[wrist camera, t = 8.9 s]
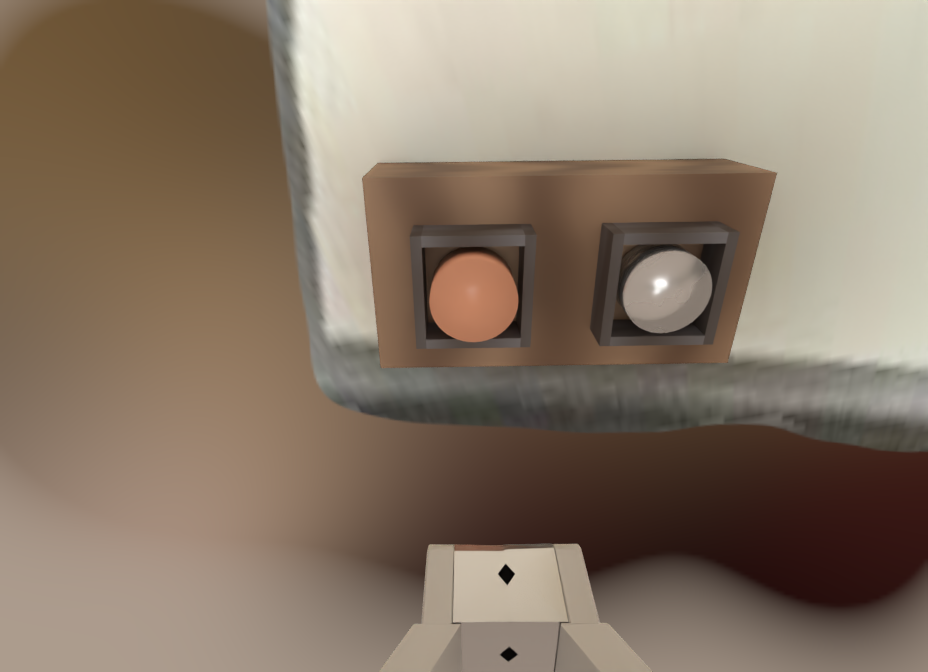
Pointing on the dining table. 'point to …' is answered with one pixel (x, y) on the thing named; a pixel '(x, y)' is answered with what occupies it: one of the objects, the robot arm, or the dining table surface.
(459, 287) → the terracotta button
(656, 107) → the dining table surface
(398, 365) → the button box
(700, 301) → the steel button
